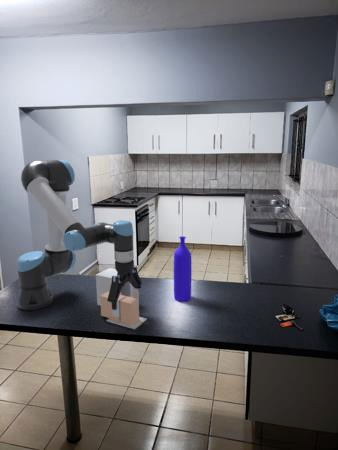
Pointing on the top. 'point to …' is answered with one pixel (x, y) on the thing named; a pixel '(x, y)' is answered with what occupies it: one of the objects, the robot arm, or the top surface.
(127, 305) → the wooden twin blocks
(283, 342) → the top surface
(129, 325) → the pad
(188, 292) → the bottle
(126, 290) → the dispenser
